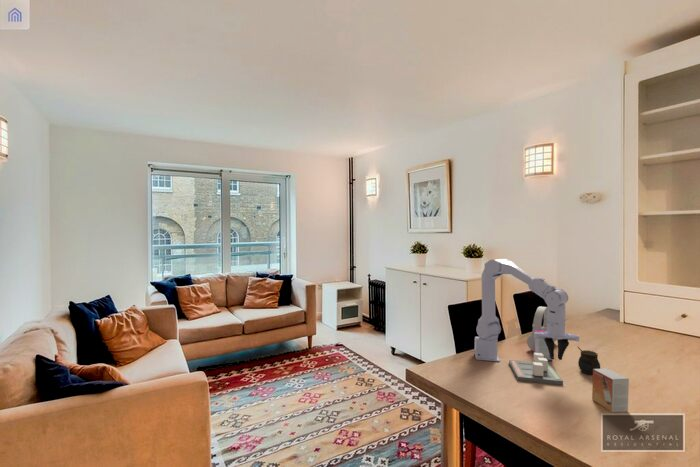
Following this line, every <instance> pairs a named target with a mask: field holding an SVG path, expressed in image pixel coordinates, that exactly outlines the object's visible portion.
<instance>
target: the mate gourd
mask: <svg viewBox="0 0 700 467" xmlns="http://www.w3.org/2000/svg"><path fill="white" fill-rule="evenodd" d="M577 349H579V351H580V357H579V359H578V362H577V364H578V367H579V370H580V371H581V372H582V373H583V374H586V375H589V376H593V369H601V363H600V361H599V359H598V353H597V352H596V351H593V350H588V349H587V350H582V349H581V348H580V346H577Z"/></svg>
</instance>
